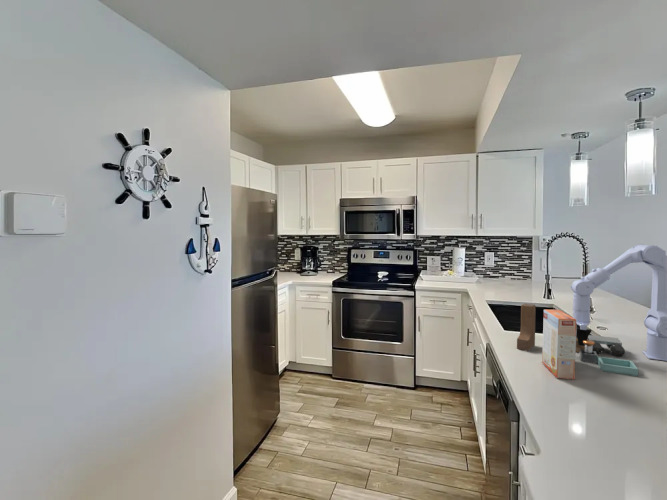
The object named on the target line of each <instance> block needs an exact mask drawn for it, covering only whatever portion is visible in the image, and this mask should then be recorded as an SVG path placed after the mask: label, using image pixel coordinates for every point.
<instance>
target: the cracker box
mask: <svg viewBox="0 0 667 500" xmlns="http://www.w3.org/2000/svg"><path fill="white" fill-rule="evenodd" d="M542 323H543V324H542V325H543V326H542V327H543V328H542V329H543V330H542V354H541V356H542V359H541V360H542V361H541V363H542V364H543V365H544V366H545V367H546V368H547V369H548V371H550V373H551V374H552V376H554V377H555V378H556V379H567V380H575V378H576V377H575V373H576V370H575V369H576V352H575V350H576V324H577V320H576V319H574V318H573V316H571V315H569V314H567V313H565V312H564V311H563V310H560V309H543V322H542Z"/></svg>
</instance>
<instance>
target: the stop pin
mask: <svg viewBox="0 0 667 500" xmlns="http://www.w3.org/2000/svg"><path fill="white" fill-rule="evenodd" d="M583 343H584V344H585V353H587V354H592V350H593V345H595V342H594V341H591V340H583Z"/></svg>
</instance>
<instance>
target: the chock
mask: <svg viewBox="0 0 667 500" xmlns="http://www.w3.org/2000/svg"><path fill="white" fill-rule="evenodd" d="M587 340H588V339H587ZM580 349H582V350H585V346H581V345H579V344H578V339H577V338H576V352H575V353H577V354H580Z"/></svg>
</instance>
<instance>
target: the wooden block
mask: <svg viewBox="0 0 667 500" xmlns="http://www.w3.org/2000/svg"><path fill="white" fill-rule="evenodd" d="M535 346H536V304H532V303H523V304H521V305H520V332H519V336H518V337H517V338H516V349H518V350H521V351H526V352H527V351H530V350H531V349H532V348H534V347H535Z"/></svg>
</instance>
